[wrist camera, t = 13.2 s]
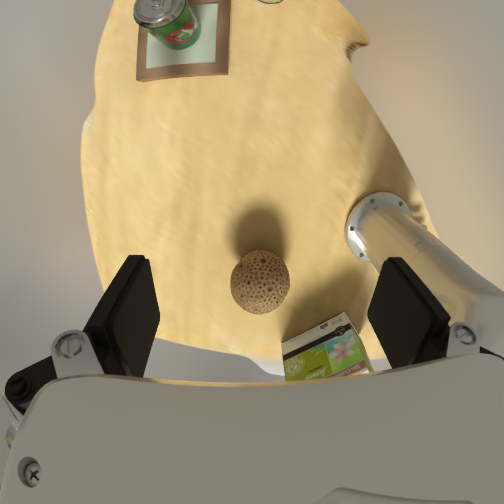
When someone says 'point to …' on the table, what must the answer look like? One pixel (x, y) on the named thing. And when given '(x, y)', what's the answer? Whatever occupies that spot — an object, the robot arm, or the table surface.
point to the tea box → (326, 352)
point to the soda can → (168, 22)
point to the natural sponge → (260, 282)
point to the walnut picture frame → (194, 57)
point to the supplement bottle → (270, 2)
